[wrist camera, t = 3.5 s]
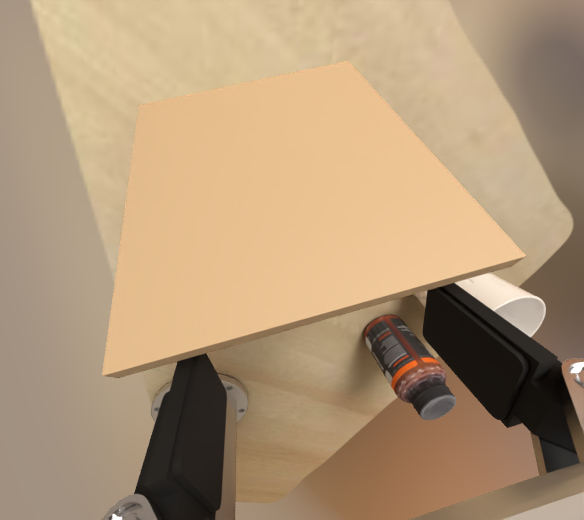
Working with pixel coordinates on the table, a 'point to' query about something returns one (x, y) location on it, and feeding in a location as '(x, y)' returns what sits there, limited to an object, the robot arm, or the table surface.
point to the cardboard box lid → (281, 216)
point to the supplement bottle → (409, 367)
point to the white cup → (503, 301)
